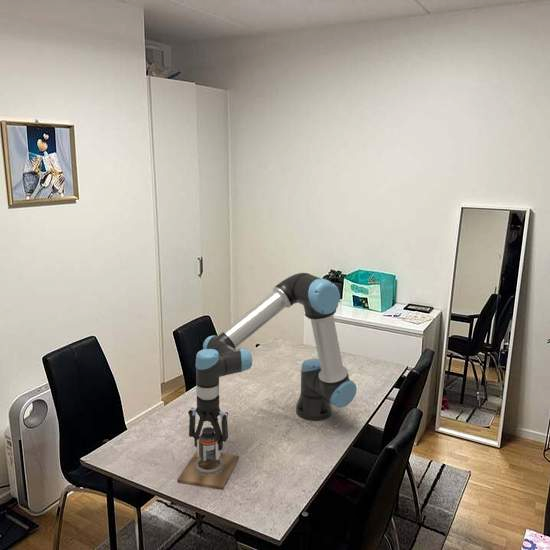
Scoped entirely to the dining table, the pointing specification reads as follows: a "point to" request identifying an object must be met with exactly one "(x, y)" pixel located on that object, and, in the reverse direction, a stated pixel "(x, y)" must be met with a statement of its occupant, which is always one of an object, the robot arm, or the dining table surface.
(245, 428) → the dining table surface
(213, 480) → the ring board
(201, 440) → the supplement bottle
